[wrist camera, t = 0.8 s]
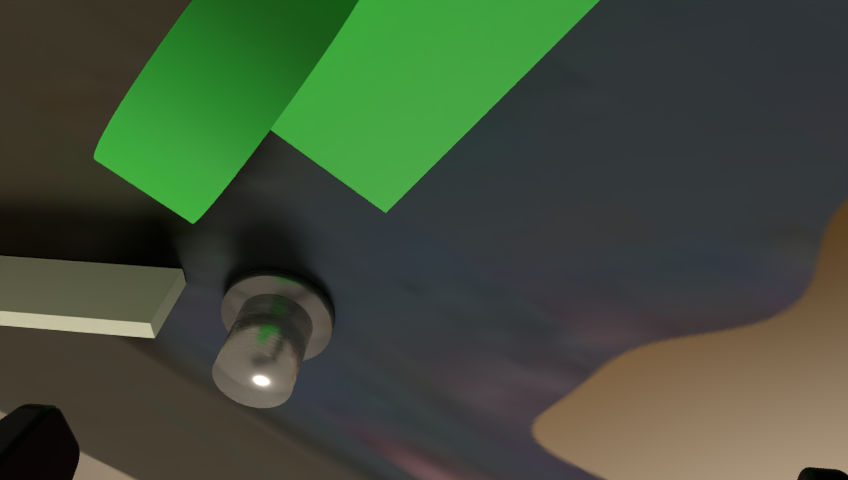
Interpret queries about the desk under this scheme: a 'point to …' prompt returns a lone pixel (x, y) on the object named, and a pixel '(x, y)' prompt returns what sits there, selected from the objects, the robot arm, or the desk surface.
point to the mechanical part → (322, 89)
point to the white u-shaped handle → (87, 296)
